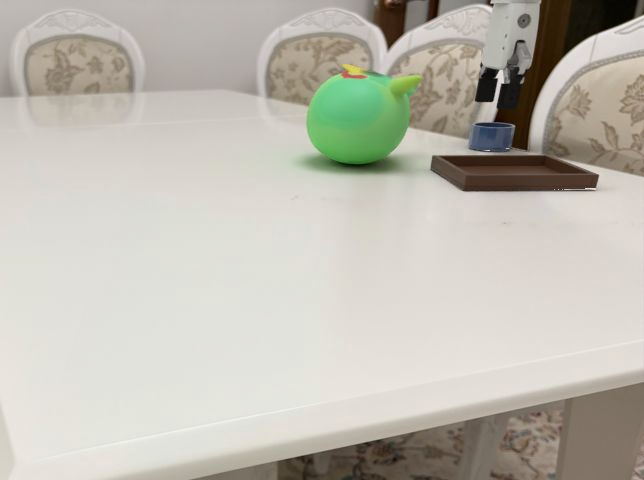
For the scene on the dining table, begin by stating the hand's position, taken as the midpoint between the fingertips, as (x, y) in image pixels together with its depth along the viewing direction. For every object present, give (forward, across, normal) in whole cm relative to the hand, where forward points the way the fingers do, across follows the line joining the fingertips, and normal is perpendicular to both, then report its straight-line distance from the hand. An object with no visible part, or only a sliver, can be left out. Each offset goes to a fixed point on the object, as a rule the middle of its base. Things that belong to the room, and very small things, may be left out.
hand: (494, 105), depth 117 cm
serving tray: (+7, -25, +7) cm, 27 cm away
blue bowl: (+7, 0, 0) cm, 7 cm away
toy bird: (+8, -13, +26) cm, 30 cm away
